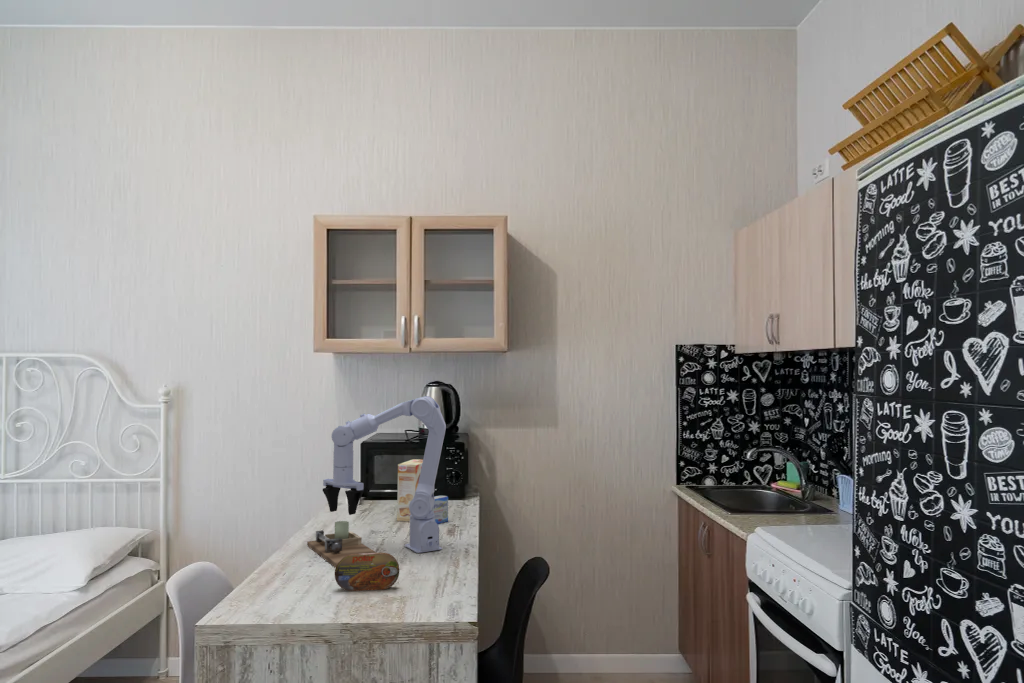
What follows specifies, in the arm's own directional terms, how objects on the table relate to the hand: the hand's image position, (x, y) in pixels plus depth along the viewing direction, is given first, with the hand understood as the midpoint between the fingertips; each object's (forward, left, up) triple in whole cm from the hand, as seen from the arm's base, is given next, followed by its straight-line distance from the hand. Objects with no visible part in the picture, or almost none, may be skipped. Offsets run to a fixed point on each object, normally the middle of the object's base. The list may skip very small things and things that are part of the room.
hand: (342, 512), depth 205 cm
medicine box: (+15, -38, -10) cm, 42 cm away
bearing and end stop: (-2, +5, -9) cm, 10 cm away
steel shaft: (-4, +5, -8) cm, 11 cm away
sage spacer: (0, 0, -9) cm, 9 cm away
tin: (-41, +7, -10) cm, 43 cm away
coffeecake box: (+27, -35, -10) cm, 45 cm away
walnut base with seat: (-8, +2, -10) cm, 13 cm away
